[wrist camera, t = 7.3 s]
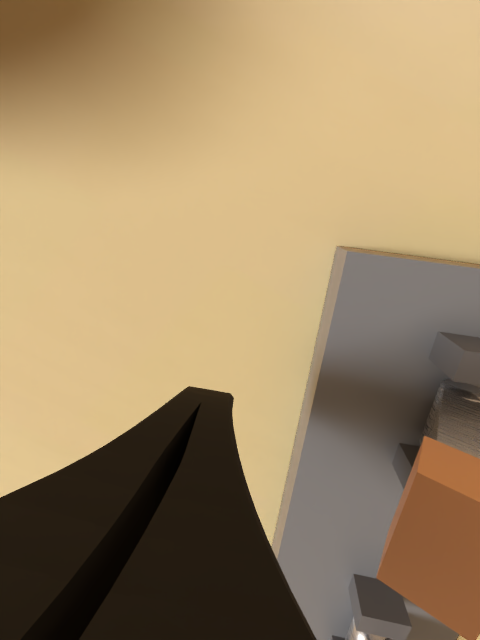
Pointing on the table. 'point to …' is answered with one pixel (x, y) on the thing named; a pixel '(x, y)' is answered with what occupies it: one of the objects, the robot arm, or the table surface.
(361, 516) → the breaker block
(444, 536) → the lever
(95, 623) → the robot arm
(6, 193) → the table surface
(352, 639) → the lever
